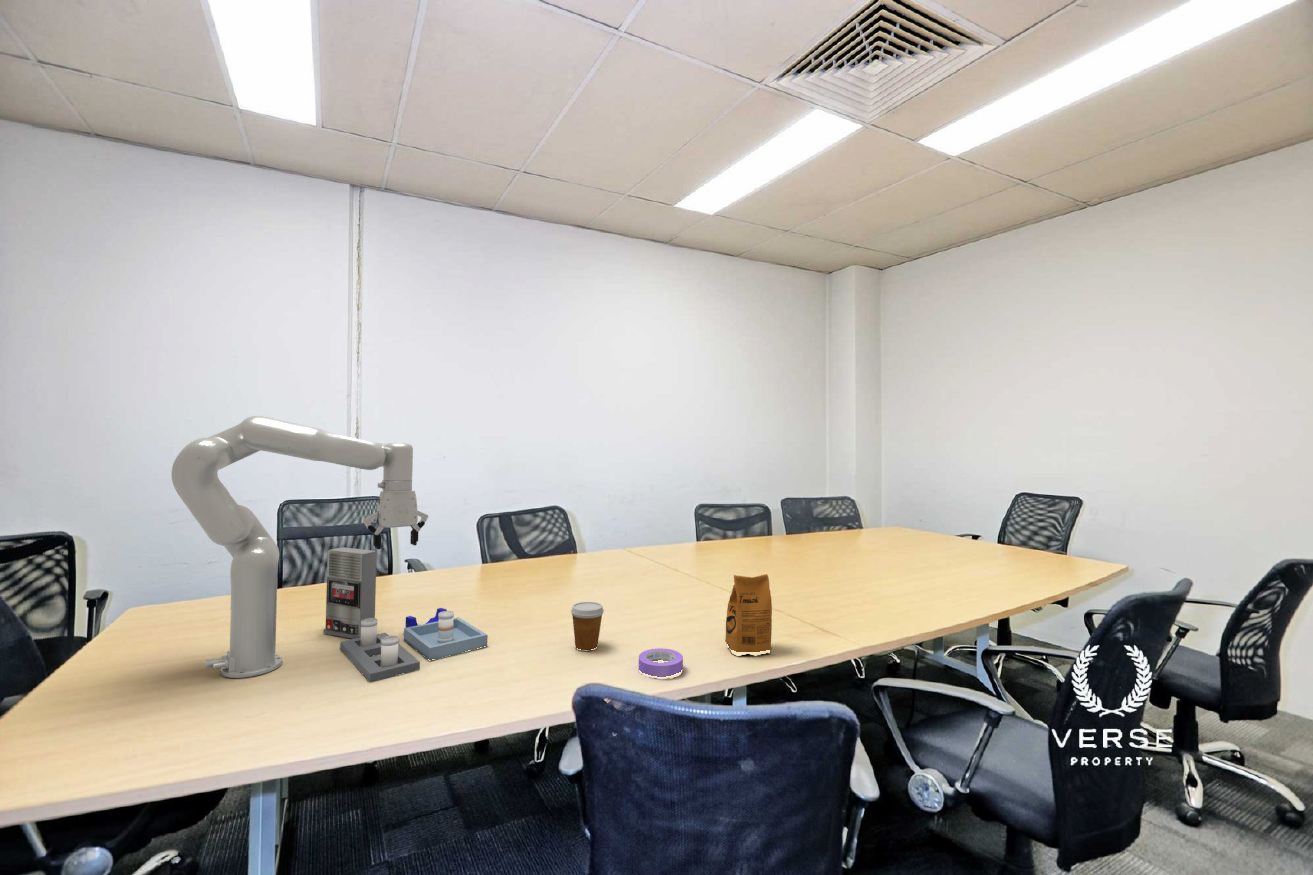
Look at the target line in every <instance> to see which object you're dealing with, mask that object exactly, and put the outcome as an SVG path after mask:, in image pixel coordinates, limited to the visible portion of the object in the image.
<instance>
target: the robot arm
mask: <svg viewBox="0 0 1313 875" xmlns="http://www.w3.org/2000/svg"><path fill="white" fill-rule="evenodd" d="M260 451H262V452H267V453H272V454H277V455H278V454H279V455H283V456H289V457H292V458H293V457H294V458H299V459H304V460H309V461H312V462H324V463H330V464H334V465H340V466H344V467H345V466H346V467H351V468H354V469H355V468H356V469H359V470H365V471H373V470H377V469H378V468H379V469H380V468H381V467H382V468H383V474H382V475H383V476H382V477H383V478H382V479H383V480H382V481H381V482H377V488H378V489H382V491H380V493H379V495H378V496H379V497H378V502H377V507H376V508H377V509H376V512H373V513H372V514H370V515H369V516H367V517H365V518H363V523H364V526H366V529H367V530H368V531H369V532H371V534H372V535H373V537H372V538H373V540H372V544H373V547H374V549H376V550H381V549H382V535H381V532H383V530H384V529H388V528H390V529H392V528H402V527H404V528H405V527H410V528H411V530H410V545H412V546H417V544H418V543H417V542H419V532H420V530H421V529H422V528H423V527H424V526H425V525H426V523H427V521H428V518H429V515H428V514H426V513H424V512H421V511H420V510H418V503H417V502H418V501H417V494H416V490H413V462H414V461H413V460H414V447H413V445H412V444H410V443H406V442H405V443H404V442H390V443H389V442H388V443H379V442H373V441H368V440H363V439H359V438H353V437H350V436H345V435H341V434H336V433H332V432H328V431H326V430H323V429H320V428H317V427H314V426H313V427H312V426H308V425H303V424H298V423H293V422H289V421H285V420H280V419H275V418H271V417H265V416H261V415H252V416H249V417H247V418H245V419H243V420H242V421H241V423H238V424H236V425H234V426H232V427H229V428H227V429H225V430H223V431H220V432H218V433H216V434H213V435H211V436H208V437H202V438H196V439H195V440H193V441H191V442H189V443H188V444H186V446H184V448H182V449H181V451H180V452H179V453H178V454H177V455H176V458H175V459H174V461H173V463H172V466H171V481H172V485H173V487H174V489H175V492H176V494H177V495H178V496H179V498H180V499H181V501H182V502H183V504H184V505H185V506H186V507H187V509H188V510H189V511H190V513H191V515H192V516H193V517H194V519H195V520H196V521H197V523H198V524H199V526H201V528H202V530H203V531H204V532H205V534H206V535H207V537H208V538H209V539H210V540H211V541H212V542H213V543H215V544H216V545H219V546H221V547H223V546H224V548H225V550H226V551H227V552H228V553H229V554H230V556H231V557H232V559H231V560H232V561H231V564H230V572H229V573H230V574H229V575H230V576H229V577H230V626H229V628H230V629H229V630H230V631H229V651H227V652H226V654H225V655H222V656H221V657H219V658H212V659H206V660H205V665H204V667H205V669H211V668H212V670H217V669H220V668H221V669H220V674H221V675H222V677H226V678H231V679H243V678H250V677H255V676H260V675H263V674H266V673H267V674H268V673H271V672H272V671H274V670H276V669H278V668H279V667H281V665H282V664H283V657H282V656H281V655H277V654H276V648H277V647H276V646H277V642H276V641H277V612H278V611H277V610H278V609H277V608H278V607H277V604H278V603H277V602H278V572H279V571H278V569H279V561H280V560H279V559H280V550H279V547H278V545H277V543H276V541H275V540H274V539H273V538H272V536H271V535H270V534H269V532H268V531H267V530H266V528H265V527H264V525H263V524H262V523H261V521H260V519H259V518H258V517H257V516H256V514H254V512H253V511H252V510H251V509H250V508H248V507H246V506H244V505H242V504H238V503H237V502H236V500H235V499H234V497H233V496H232V495H231V494H230V492H229V491H228V488H226V486H225V485H224V484H223V483H222V481H221V480H220V478H219V476H218V475H219V474H218V471H219V470H221V469H224V468H226V467H228V466H230V465H232V464H235V463H237V462H239V461H241V460H244V459H245V458H248V457H249V456H252V455H254V454H256V453H258V452H260ZM418 517H420V520H419V521H418V519H419V518H418ZM374 520H375V521H376V525H375V527H374V526H373V525H372V521H374Z"/></svg>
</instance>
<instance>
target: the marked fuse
mask: <svg viewBox="0 0 1313 875" xmlns="http://www.w3.org/2000/svg"><path fill="white" fill-rule="evenodd" d="M438 618H439V625H438V642H439V643H447V642H451V641H453V618H455V612H454V611H452V610H447V611H443V612H440V613H439V614H438Z"/></svg>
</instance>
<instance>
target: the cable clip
mask: <svg viewBox="0 0 1313 875" xmlns="http://www.w3.org/2000/svg"><path fill="white" fill-rule="evenodd" d="M443 611H448V609H447V608H444V607H439V608H436V612H435V616H434V617H431V618H429V620H428V621H427V622H425V623H424V624H428V623H433V622H438V621H439V618H438V614H439V613H440V612H443ZM418 625H419V624H418V620H417V617H414V616H412V615H407V616H405V627H404V628H408V627H413V626H418Z"/></svg>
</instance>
